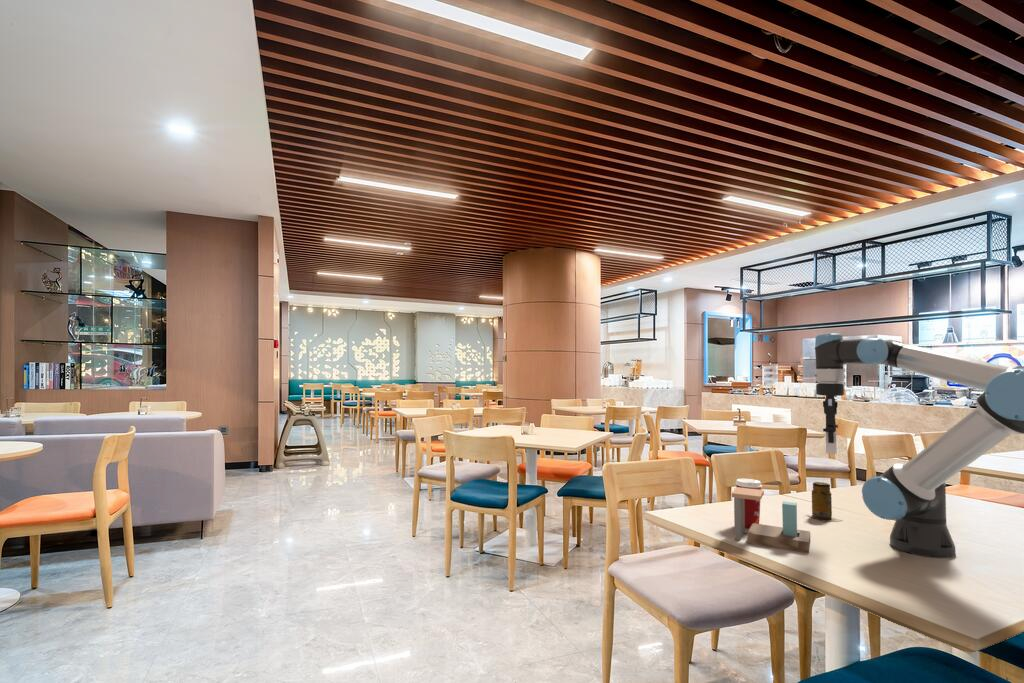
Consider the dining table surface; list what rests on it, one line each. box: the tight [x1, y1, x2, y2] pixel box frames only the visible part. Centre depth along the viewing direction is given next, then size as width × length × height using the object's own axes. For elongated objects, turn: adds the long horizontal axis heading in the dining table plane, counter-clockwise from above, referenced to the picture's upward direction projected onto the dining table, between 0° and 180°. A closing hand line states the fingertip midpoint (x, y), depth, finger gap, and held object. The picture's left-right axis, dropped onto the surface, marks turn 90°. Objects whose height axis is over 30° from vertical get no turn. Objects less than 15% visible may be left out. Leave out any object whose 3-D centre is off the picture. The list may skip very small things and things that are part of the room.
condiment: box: [806, 481, 842, 523], centre depth 186 cm, size 7×8×12 cm
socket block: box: [747, 523, 811, 554], centre depth 159 cm, size 16×12×3 cm
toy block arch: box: [731, 487, 765, 541], centre depth 164 cm, size 8×10×14 cm
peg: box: [781, 500, 798, 537], centre depth 158 cm, size 4×4×12 cm
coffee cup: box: [734, 478, 763, 530], centre depth 176 cm, size 8×8×15 cm
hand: (831, 450), depth 165 cm, fingers open, 13 cm apart
